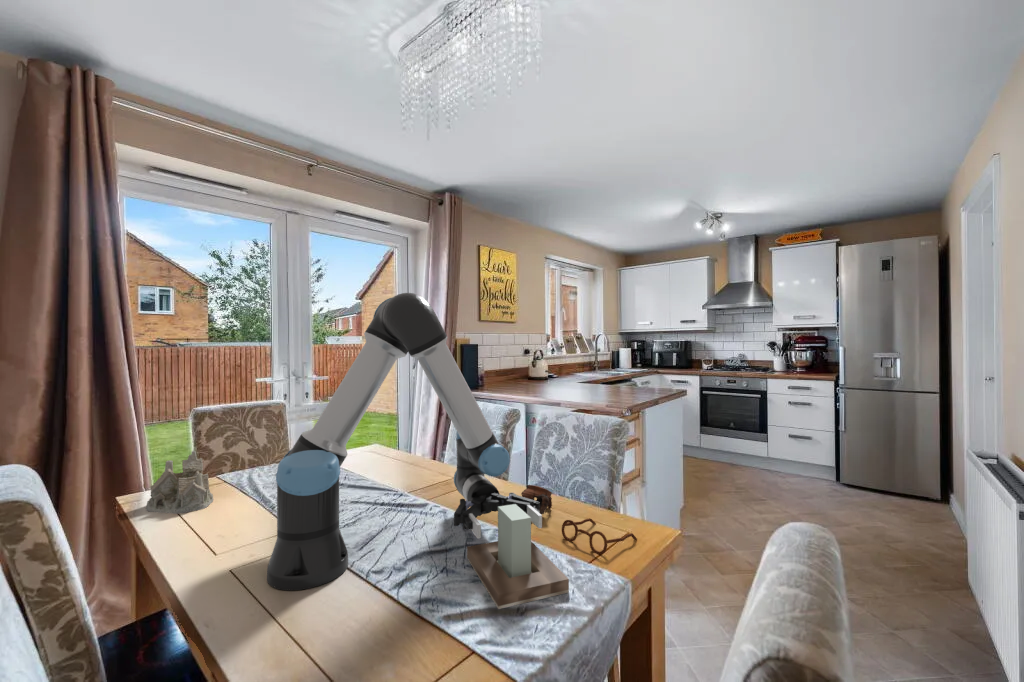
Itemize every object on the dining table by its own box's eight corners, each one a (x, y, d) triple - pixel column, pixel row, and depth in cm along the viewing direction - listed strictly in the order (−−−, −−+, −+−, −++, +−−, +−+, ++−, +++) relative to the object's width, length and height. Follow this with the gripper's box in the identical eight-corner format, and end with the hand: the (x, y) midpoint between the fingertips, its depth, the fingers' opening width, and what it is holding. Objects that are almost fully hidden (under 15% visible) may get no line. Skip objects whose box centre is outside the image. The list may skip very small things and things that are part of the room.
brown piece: (509, 511, 124) (518, 482, 128) (537, 522, 127) (545, 493, 131) (530, 514, 114) (539, 483, 118) (560, 526, 117) (568, 494, 120)
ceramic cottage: (150, 501, 132) (152, 451, 131) (216, 494, 140) (218, 447, 139) (135, 523, 118) (137, 467, 118) (209, 514, 126) (212, 462, 125)
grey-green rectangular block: (512, 583, 85) (511, 520, 85) (498, 564, 92) (497, 506, 93) (531, 579, 87) (530, 517, 87) (515, 560, 94) (515, 504, 94)
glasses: (560, 539, 106) (560, 518, 107) (594, 524, 115) (594, 505, 115) (604, 559, 97) (604, 536, 97) (638, 541, 105) (638, 520, 105)
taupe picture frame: (498, 609, 78) (498, 594, 78) (467, 558, 96) (467, 546, 96) (568, 592, 83) (568, 578, 83) (526, 547, 101) (526, 536, 101)
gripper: (526, 502, 116) (564, 535, 96) (431, 516, 107) (451, 555, 88) (526, 474, 116) (564, 500, 97) (431, 485, 108) (451, 517, 88)
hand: (510, 526), depth 92 cm, fingers open, 13 cm apart
